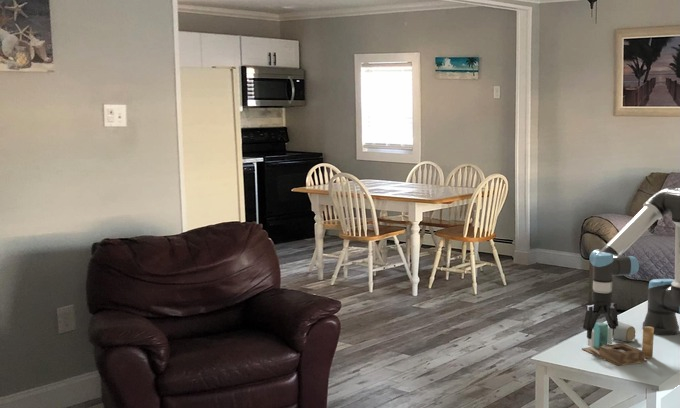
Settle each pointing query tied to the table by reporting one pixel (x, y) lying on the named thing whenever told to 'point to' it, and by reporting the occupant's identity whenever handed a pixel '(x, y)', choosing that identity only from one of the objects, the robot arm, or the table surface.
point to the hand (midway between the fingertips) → (599, 344)
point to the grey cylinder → (624, 332)
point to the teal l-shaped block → (601, 335)
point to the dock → (618, 354)
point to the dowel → (648, 341)
